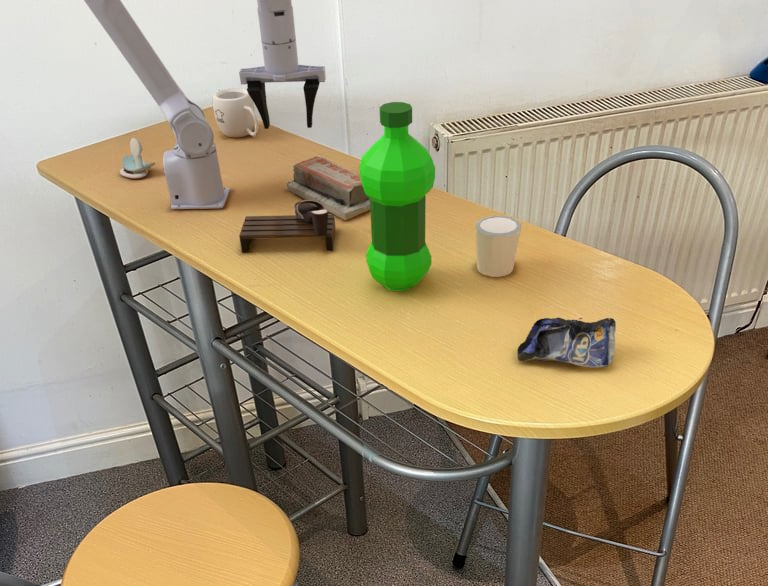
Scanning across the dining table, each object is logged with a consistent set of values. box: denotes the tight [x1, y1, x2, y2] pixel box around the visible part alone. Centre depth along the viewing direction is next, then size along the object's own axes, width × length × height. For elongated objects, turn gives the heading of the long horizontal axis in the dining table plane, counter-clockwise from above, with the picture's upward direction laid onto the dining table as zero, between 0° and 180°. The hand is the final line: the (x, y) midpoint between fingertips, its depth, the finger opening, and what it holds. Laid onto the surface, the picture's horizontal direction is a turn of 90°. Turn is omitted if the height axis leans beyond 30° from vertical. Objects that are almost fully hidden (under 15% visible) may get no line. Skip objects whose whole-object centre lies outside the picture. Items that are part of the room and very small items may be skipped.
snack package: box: [516, 317, 617, 368], centre depth 101 cm, size 12×6×12 cm
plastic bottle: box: [358, 101, 436, 292], centre depth 108 cm, size 10×10×25 cm
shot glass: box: [475, 215, 522, 278], centre depth 117 cm, size 7×7×7 cm
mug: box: [212, 87, 260, 139], centre depth 159 cm, size 12×8×8 cm
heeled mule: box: [294, 199, 329, 236], centre depth 124 cm, size 4×11×4 cm, turn 23°
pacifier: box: [119, 137, 156, 179], centre depth 148 cm, size 7×6×6 cm
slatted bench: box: [238, 214, 337, 254], centre depth 126 cm, size 15×7×3 cm, turn 89°
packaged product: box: [286, 156, 370, 221], centre depth 137 cm, size 18×5×10 cm
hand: (288, 126), depth 136 cm, fingers open, 7 cm apart
